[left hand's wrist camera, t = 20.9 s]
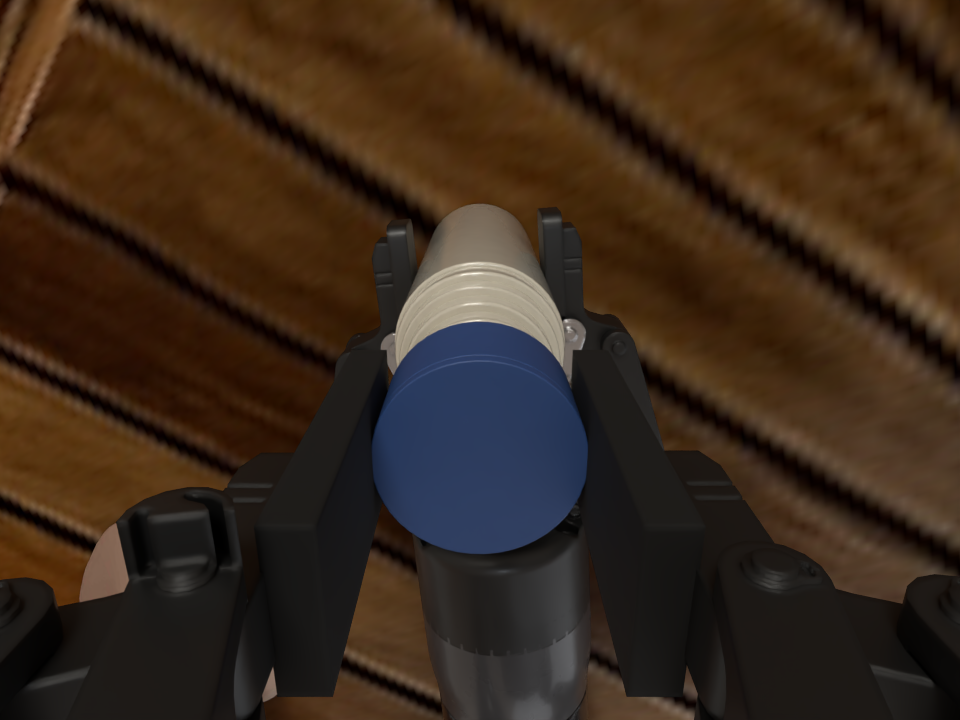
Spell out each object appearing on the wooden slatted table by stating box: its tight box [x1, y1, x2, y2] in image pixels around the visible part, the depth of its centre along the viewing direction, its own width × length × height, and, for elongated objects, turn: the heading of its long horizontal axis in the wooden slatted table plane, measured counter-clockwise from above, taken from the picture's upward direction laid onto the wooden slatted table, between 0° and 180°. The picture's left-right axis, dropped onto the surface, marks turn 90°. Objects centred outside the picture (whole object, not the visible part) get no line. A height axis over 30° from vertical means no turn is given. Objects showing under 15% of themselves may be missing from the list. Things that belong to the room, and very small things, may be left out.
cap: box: [372, 322, 588, 554], centre depth 13 cm, size 4×4×2 cm
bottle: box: [395, 204, 565, 368], centre depth 22 cm, size 5×5×19 cm
